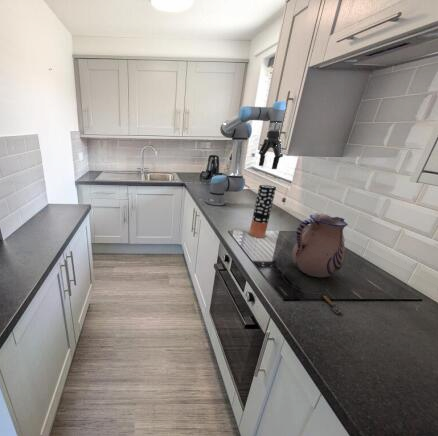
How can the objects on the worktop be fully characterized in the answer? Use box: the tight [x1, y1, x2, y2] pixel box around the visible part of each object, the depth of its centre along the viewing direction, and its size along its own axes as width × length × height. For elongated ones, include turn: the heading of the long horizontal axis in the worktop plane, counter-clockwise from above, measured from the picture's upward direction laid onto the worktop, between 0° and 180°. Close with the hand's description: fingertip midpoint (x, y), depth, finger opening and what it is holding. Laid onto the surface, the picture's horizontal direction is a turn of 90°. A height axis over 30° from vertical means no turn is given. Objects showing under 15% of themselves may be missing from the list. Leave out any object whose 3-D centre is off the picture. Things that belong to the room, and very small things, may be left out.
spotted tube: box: [252, 184, 277, 224], centre depth 129 cm, size 8×8×20 cm
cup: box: [249, 218, 269, 239], centre depth 135 cm, size 8×8×9 cm
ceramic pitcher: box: [291, 212, 348, 278], centre depth 95 cm, size 18×21×25 cm
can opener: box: [322, 294, 342, 315], centre depth 80 cm, size 9×2×1 cm, turn 170°
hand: (267, 167), depth 143 cm, fingers open, 13 cm apart
